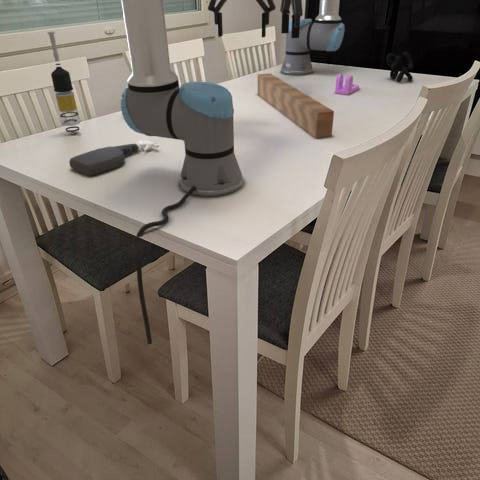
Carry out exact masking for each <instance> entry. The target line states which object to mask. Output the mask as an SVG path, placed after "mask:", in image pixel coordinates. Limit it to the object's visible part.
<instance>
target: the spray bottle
mask: <svg viewBox="0 0 480 480" xmlns="http://www.w3.org/2000/svg"><path fill="white" fill-rule="evenodd" d="M159 148H160V145H159V144H158V143H155V142H151V141H148V140H144V139H139V140H138V141H137V142H135V143H129V144H128V143H126V144H122V145H113V146H105V147H100V148H97V149H94V150H90V151H87V152H83V153H81V154H78V155H74V156H73V157H70V159H69V161H68V162H69V167H70V168H71V169H72V170H74V171H75V172H78V173H81V174H83V175H85V176H89V177H90V176H91V177H92V176H95V175H99V174H102V173H105V172H107V171H110V170H113V169H116V168H118V167H120V166H122V165H123V164H124V163H125V158H126V156H127V155H131V154H133V153H138V151H140V150H143V151H144V152H146V151H147V150H149V149H159Z"/></svg>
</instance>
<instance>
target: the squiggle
mask: <svg viewBox="0 0 480 480" xmlns="http://www.w3.org/2000/svg"><path fill="white" fill-rule="evenodd" d="M401 57H402V59H401ZM391 59H392V60H391ZM393 60H394V61H393ZM385 61H386V64H387V67H390V68H391V70H390V72H389V78H390V79H391V80H395V79H396V81H397V82H399V83H400V82H402V81H403V79H404V76H406V78H407V80H408V81H412V80H413V79H414V77H413V75H412V74H411V73H410V72H409V71H410V70H412V69H413V68H414V64H413V61H412V57H411V54H410V53H409V52H408V51H403V53H402V54H401V55H396V54H394V53H392V52H390V53H387V55H386V57H385ZM406 62H407V65H408V66H407V67H405V66H404V65H405V64H406ZM400 70H401V71H400Z"/></svg>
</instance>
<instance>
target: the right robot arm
mask: <svg viewBox="0 0 480 480" xmlns="http://www.w3.org/2000/svg"><path fill="white" fill-rule="evenodd" d="M290 9H291V10H290ZM291 11H292V14H291ZM339 11H340V0H319V11H318V15H317V16H316V17H315V19H314V22H313V20H312V18H304V19H301V17H303V15H304V14H303V1H302V0H281V3H280V9H279V12H281V30H280V33H281V34H285V52H284V53H285V55H284V58H283V61H282V64H281V67H280V72H281V73H282V74H284V75H289V76H305V75H310V74H312V73H313V64H312V61H311V55H310V54H311V51H320V52H321V51H322V52H323V51H325V52H336V51H338V50H339V49H340V47H341V45H342V42H343V40H344V36H345V24H344V23H343V22H342V18H341V16H340V15H339V13H340V12H339ZM290 14H291V17H290ZM290 18H291V20H290Z"/></svg>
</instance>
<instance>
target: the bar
mask: <svg viewBox="0 0 480 480" xmlns="http://www.w3.org/2000/svg"><path fill="white" fill-rule="evenodd" d="M257 95H258V96H259V97H261V98H262V99H263V100H264V101H265V102H267V103H268V104H270V105H271V106H272V107H273V108H275V109H276V110H278V111H279V112H280V113H282V114H283V115H284V116H285V117H287V118H288V119H289V120H291V121H292V122H293V123H294V124H295V125H297V126H299V128H301V129H303V130H304V131H305V132H306V133H308V134H309V135H311V136H312V137H313V138H314V139H322V138H330V137H332V136H333V128H334V127H333V125H334V116H335V111H334V110H333V109H331V108H330V107H328V106H326V105H325V104H323V103H321V102H320V101H318V100H316V99H315V98H313V97H311V96H309V95H308V94H306V93H304V92H302V91H301V90H299V89H298V88H296V87H294V86H292V85H290V84H289V83H287V82H286V81H284V80H282V79H280V78H279V77H277V76H275V75H274V74H272V73H259V74H258V73H257Z"/></svg>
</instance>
